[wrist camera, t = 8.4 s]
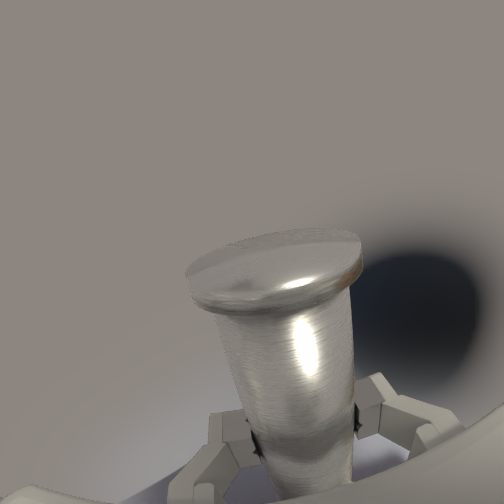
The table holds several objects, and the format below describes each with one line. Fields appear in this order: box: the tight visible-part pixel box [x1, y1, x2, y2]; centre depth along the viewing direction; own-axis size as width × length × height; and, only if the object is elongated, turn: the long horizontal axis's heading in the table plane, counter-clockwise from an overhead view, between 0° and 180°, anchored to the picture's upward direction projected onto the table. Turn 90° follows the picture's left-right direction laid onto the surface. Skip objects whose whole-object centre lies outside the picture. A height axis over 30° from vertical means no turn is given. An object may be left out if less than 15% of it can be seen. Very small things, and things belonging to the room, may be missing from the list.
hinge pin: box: [185, 228, 363, 501], centre depth 9 cm, size 4×4×15 cm
